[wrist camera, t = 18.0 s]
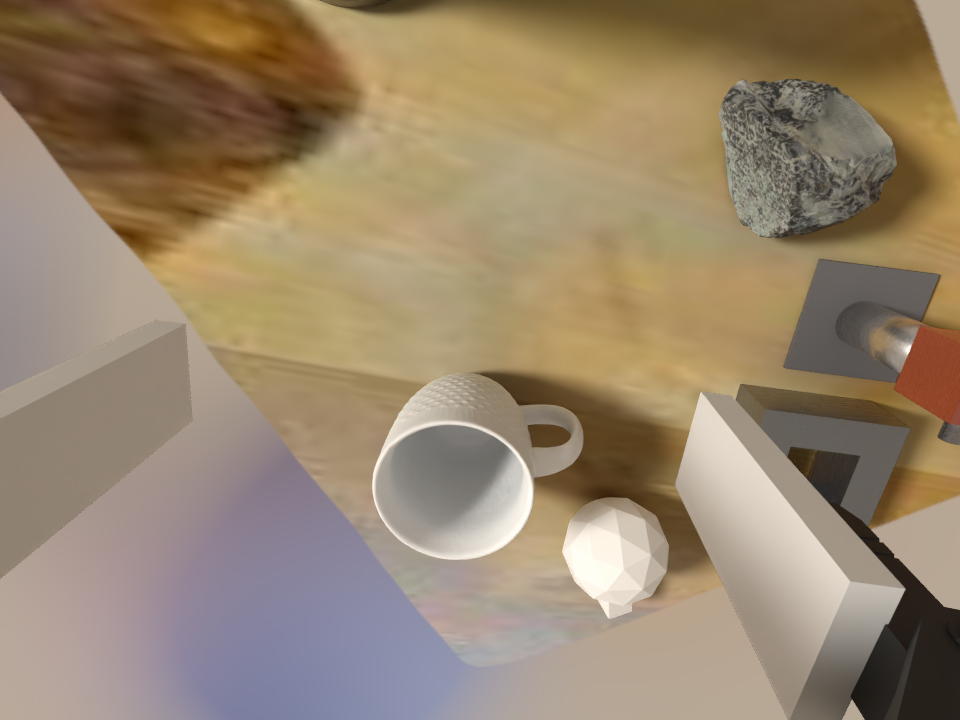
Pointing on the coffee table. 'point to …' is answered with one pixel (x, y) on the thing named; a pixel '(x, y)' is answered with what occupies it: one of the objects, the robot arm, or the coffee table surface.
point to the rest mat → (838, 290)
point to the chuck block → (832, 441)
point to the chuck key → (910, 358)
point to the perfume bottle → (616, 552)
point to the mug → (466, 466)
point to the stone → (801, 156)
